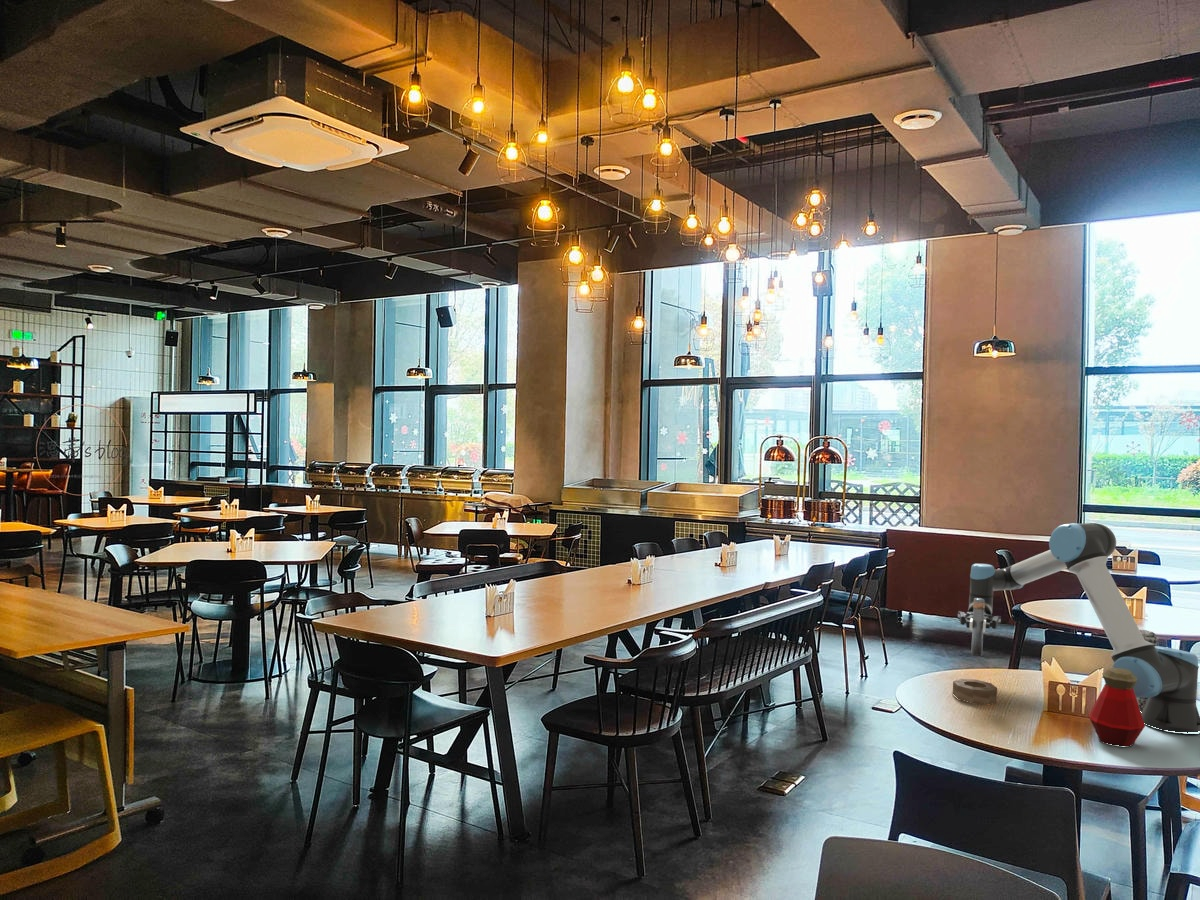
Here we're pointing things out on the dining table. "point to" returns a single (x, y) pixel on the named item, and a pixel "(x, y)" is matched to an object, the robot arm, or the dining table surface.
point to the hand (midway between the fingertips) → (977, 626)
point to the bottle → (1117, 709)
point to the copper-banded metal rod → (977, 626)
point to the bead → (975, 691)
